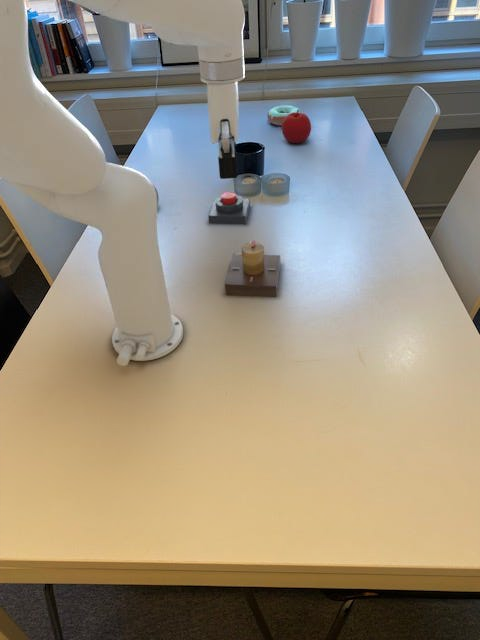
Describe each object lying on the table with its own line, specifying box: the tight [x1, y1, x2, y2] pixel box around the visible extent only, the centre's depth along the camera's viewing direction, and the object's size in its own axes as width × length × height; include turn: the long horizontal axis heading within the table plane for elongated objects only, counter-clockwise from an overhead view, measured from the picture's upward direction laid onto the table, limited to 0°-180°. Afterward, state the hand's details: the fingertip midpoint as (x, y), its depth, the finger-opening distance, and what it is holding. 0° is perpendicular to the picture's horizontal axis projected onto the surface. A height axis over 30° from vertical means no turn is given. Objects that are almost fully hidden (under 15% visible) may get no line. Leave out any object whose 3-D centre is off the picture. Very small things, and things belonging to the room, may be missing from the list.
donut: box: [266, 105, 302, 127], centre depth 171 cm, size 12×12×4 cm
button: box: [220, 191, 237, 204], centre depth 119 cm, size 4×4×2 cm
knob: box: [240, 240, 265, 275], centre depth 97 cm, size 4×4×5 cm
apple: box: [281, 109, 312, 144], centre depth 154 cm, size 9×9×10 cm
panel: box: [224, 253, 281, 298], centre depth 99 cm, size 11×10×3 cm
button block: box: [208, 194, 251, 225], centre depth 121 cm, size 9×9×4 cm
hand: (228, 167), depth 94 cm, fingers open, 9 cm apart
